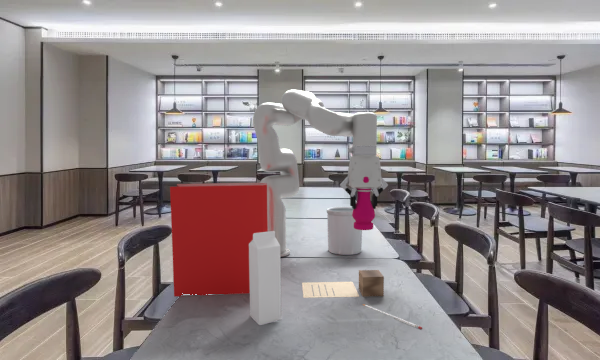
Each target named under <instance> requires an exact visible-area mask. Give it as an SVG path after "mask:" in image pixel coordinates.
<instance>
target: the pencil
mask: <svg viewBox="0 0 600 360" xmlns="http://www.w3.org/2000/svg"><path fill="white" fill-rule="evenodd" d="M362 306H364V307H367V308H369V309H371V310H374V311H376V312H378V313H381V314H384V315H387V316H389V317H391V318H393V319H394V320H396V321H399V322H401V323H404V324H407V325H408V326H411V327H414V328H416V329H419V330H422V329H423V326H420V325H418V324H415V323H413V322H410V321H408V320H405V319H403V318H400V317H397V316H395V315H393V314H391V313H387V312H386V311H383V310H380V309H377V308H375V307H373V306H371V305H367V304H363V303H362Z"/></svg>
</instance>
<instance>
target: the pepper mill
mask: <svg viewBox="0 0 600 360" xmlns="http://www.w3.org/2000/svg"><path fill="white" fill-rule="evenodd" d="M362 180H363V182H364V183H368V182H369V180H370V179H369V178H368V177H364V178H363V179H362ZM371 192H372V189H371V188H357V189H356V193H357V197H356V209H353V213H352V216H353V218H354V220H355V221H356V222H354V228H355V229H357V230H362V231H370V230H373V229H374V222H373V220H374V219H375V217H376V212H375V209H374V208H373V206H372V204H371Z"/></svg>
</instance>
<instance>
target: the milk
mask: <svg viewBox="0 0 600 360" xmlns="http://www.w3.org/2000/svg"><path fill="white" fill-rule="evenodd" d="M281 271H282V270H281V257H280V244H279V243H278V241H277V239H276V237H275V231H269V232H261V233H254V234H253V240H252V241H251V242H250V243H249V281H250V293H249V317H251V318H252V320H254V322H255V323H256V324H257V325H258V326H264V325H267V324H271V323H274V322H275V323H276V322H277V321H281V320H282V287H281V286H282V281H281V280H282V279H281V278H282V277H281V275H282V273H281Z"/></svg>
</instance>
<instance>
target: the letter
mask: <svg viewBox="0 0 600 360" xmlns="http://www.w3.org/2000/svg"><path fill="white" fill-rule="evenodd" d="M301 286H302V297H303V298H304V299H307V298H308V299H309V298H310V299H311V298H318V299H319V298H357V297H358V298H359V297H360V294H359V292H358V290H357V288H356V286H355V284H354V282H353V281H324V282H323V281H322V282H321V281H318V282H313V281H312V282H307V281H306V282H301Z"/></svg>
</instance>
